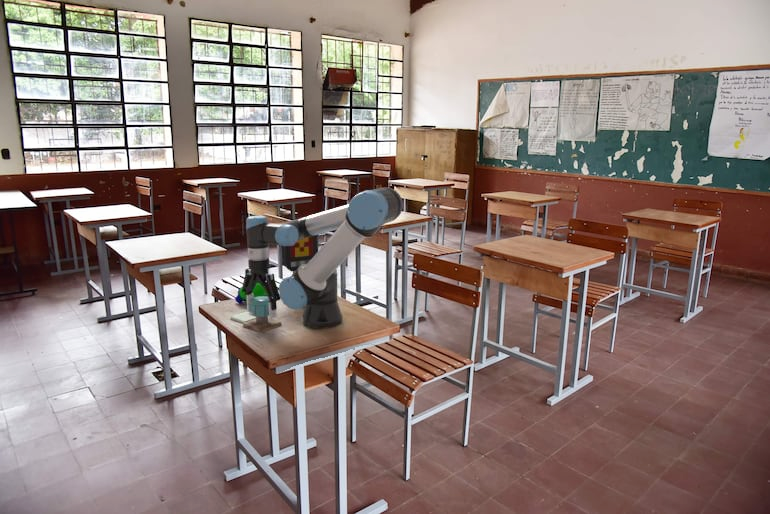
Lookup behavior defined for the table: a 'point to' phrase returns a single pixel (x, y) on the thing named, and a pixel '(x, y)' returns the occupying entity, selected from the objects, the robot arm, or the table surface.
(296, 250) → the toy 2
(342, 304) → the table surface
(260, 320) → the post stand
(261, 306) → the cap
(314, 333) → the table surface
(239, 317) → the mat
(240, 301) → the toy
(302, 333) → the table surface
